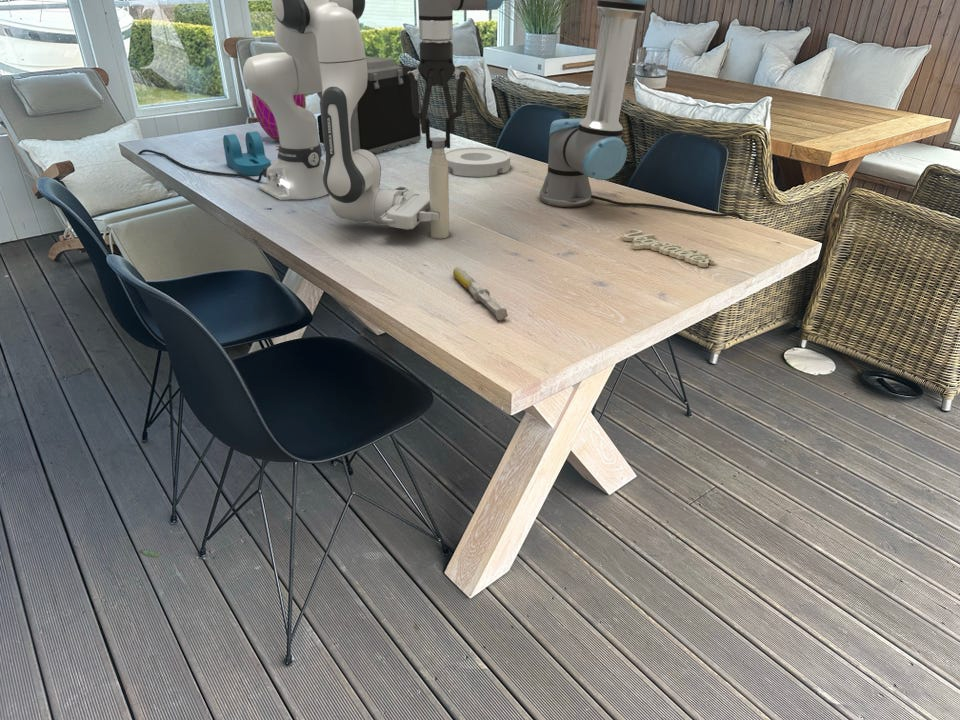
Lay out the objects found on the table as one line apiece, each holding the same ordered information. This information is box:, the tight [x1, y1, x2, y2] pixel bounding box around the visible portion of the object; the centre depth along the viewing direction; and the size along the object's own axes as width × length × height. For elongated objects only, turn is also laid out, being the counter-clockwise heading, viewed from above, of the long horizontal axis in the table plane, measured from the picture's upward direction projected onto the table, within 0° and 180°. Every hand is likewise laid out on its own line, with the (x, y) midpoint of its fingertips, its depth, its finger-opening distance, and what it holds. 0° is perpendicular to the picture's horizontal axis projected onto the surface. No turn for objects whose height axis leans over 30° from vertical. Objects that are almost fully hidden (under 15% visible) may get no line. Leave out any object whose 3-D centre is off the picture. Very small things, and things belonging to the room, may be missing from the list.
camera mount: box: [222, 131, 272, 176], centre depth 226 cm, size 18×10×10 cm, turn 35°
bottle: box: [428, 148, 450, 239], centre depth 171 cm, size 5×5×23 cm
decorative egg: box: [251, 92, 307, 141], centre depth 257 cm, size 19×19×30 cm
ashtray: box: [444, 146, 511, 178], centre depth 232 cm, size 23×23×4 cm
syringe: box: [452, 266, 509, 321], centre depth 145 cm, size 25×4×3 cm, turn 21°
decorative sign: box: [622, 228, 715, 268], centre depth 169 cm, size 26×1×10 cm
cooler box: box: [316, 55, 422, 155], centre depth 250 cm, size 37×22×30 cm, turn 144°
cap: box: [430, 136, 447, 149], centre depth 165 cm, size 4×4×2 cm
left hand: (442, 212), depth 174 cm, fingers closed on bottle, 5 cm apart
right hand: (438, 146), depth 166 cm, fingers closed on cap, 4 cm apart
